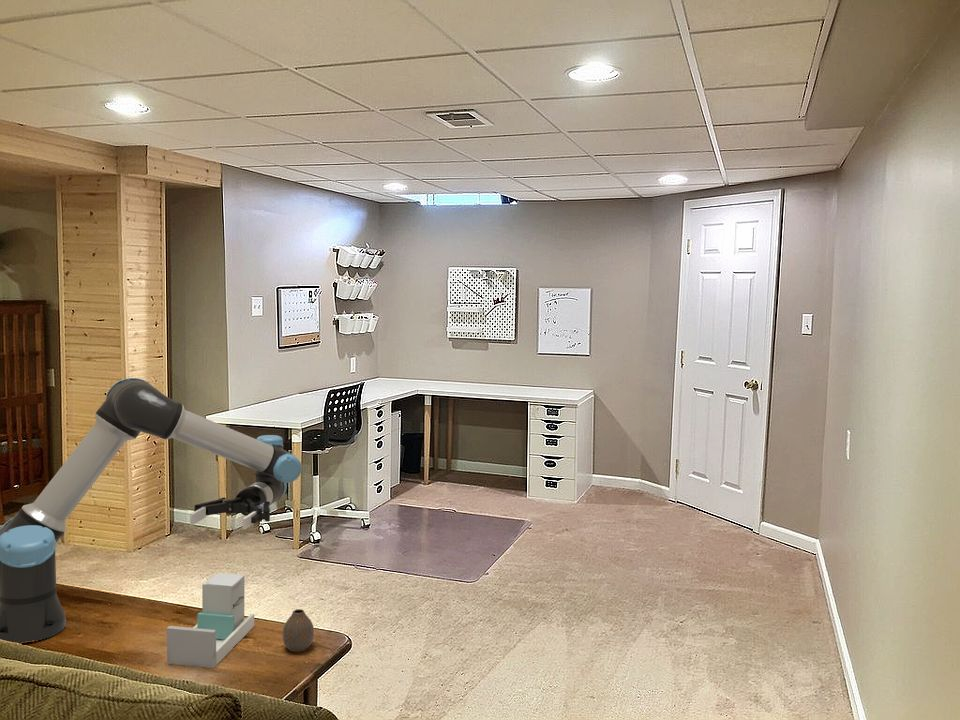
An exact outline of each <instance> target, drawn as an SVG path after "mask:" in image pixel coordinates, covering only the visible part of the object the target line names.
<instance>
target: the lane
mask: <svg viewBox="0 0 960 720" xmlns="http://www.w3.org/2000/svg"><path fill="white" fill-rule="evenodd" d="M254 627H255V614H254V613H249V615H248V616H247V617H244V621H243V622H242V623H241V624H240V625H239V626H238V627H237V628H236V629H235V630H234V631H233V632H232V633H231V634H230V635H229V636H228V637H227V638H226V639H225V640H224V639H216V630H211V629H199V628H198V624H197V623H196V624H195V625H194V626H193V627H186V626H176V625H169V626H167V628H166V663H167V665H177V666H187V667H188V666H189V667H195V668H196V667H197V668H198V667H199V668H209V669H215V668H216V666H217V665H218V664H219V663H220V662H221V661H222V660H224V658H225V657H226V656H227V655H228V654H229V653H230V652H231V651H232V650H233V649H234V648H235V647H236V646H237V645H238V644H239V643H240V641H242V639H243V638H245V636H246V635H247V634H248V633H249V632H250V631H251V630H252V629H253V628H254ZM236 644H237V645H236ZM235 645H236V646H235ZM234 646H235V647H234ZM233 647H234V648H233Z"/></svg>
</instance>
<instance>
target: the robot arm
mask: <svg viewBox="0 0 960 720" xmlns="http://www.w3.org/2000/svg"><path fill="white" fill-rule="evenodd" d="M105 397H106V398H105V400H104V401H103V403H102V404H101V405H100V407H98V409H97V411H96V412H95V413H94V416H95V423H94V424H93V425H92V427H91V428H90V429H89V431H88V432H87V433H86V435H85V436H84V438H83V439H82V440H81V441H80V443H78V445H77V447H76V448H75V449H74V450H73V452H71V454H70V455H69V456H68V458H67V459H66V460H65V462H64V463H63V464H62V465H61V466H60V468H59V469H58V471H57V472H56V474H55V475H54V476H53V477H52V478H51V480H50V481H49V482H48V483H47V484H46V486H45V487H44V488H43V490H42V491H41V492H40V494H39V495H38V496H37V498H36V499H35V501H33V502H32V503H28V504H24V505H23V506H22V507H21V508H20V509H19V510H18V511H17V513H16V514H15V515H14V516H13V517H11V518H10V519H9V520H7V521H6V522H5V523H4V524H3V525H1V527H0V639H3V640H7V641H13V642H18V643H22V642H25V641H32V640H35V641H36V640H41V641H43V640H42V639H44V640H46V639H45V638H47V639H49V637H50V638H52V637H54V636H56V635H58V634H59V633H61V632H62V631H63V630H64V629H65V628H66V625H67V623H66V613H65V610H64V609H63V606H62V604H61V602H60V599H59V597H58V595H57V571H56V570H57V569H56V567H57V566H56V563H57V562H56V548H57V543H58V542H59V540H60V539H61V538H62V536H63V535H64V534H65V532H66V530H67V526H66V520H67V519H68V518H69V516H70V515H71V514H72V513H73V511H74V510H75V509H76V507H77V506H78V504H80V502H81V501H82V500H83V498H84V497H85V495H86V494H87V493H88V491H90V489H91V488H92V486H93V485H94V484H95V482H96V481H97V480H98V478H99V477H100V476H101V475H102V473H103V472H104V470H106V469H107V467H108V465H109V464H110V463H111V462H112V460H113V459H114V458H115V457H116V455H117V453H118V452H119V451H120V450H121V449H122V447H123V446H124V444H125V443H126V442H128V441H134V440H136V439H137V438H138V436H139V435H140V433H144V434H147V435H152V436H155V437H157V438H159V439H163V440H165V441H167V440H170V439H173V440H174V439H175V440H177V441H179V442H182V443H185V444H187V445H190V446H192V447H195V448H197V449H199V450H203V451H206V452H208V453H211V454H213V455H215V456H218V457H221V458H223V459H226V460H229V461H232V462H233V463H236V464H239V465H242V466H245V467H247V468H250V469H252V470H254V483H252V484H251V485H248V486H247V487H246V488H244V489H242V490H241V491H239V492H238V493H237V495H236V496H235V498H233V499H226V497H221V498H218V499H216V500H215V499H214V500H209V501H206V502H203V503H198V504H197V503H196V504H194V506H193V507H194V511H192V512H191V513H190V516H189V517H190V518H189V525H190V526H194V525H196V524H198V523H199V522H200V521H202V520H204V519H206V517H207V516H213V515H218V514H227V515H230V514H231V515H232V514H240V515H241V514H242V515H243V516H245V517H242V525H241V526H242V530H247V529H248V528H249V527H251V526H253V525H254V524H256V523H258V522H260V523H261V522H262V521H264V522H265V523H266V522H270V520H271V505H273V504H274V503H277V502H278V501H280V499H281V498H282V497H283V496H284V495H286V492H287V489H288V488H287V487H288V484H289V483H293V482H294V481H297V479H298V478H299V477H300V476H301V473H302V469H303V468H302V463H301V461H300V459H299V458H298V457H297V456H296V455H295V454H292V453H290V452H288V451H287V450H286V449H284V446H285V445H284V440H283V437H282V436H280V435H276V434H265V435H264V434H263V435H260V436H258V437H257V438H255V437H252V436H249V435H246V434H245V433H243V432H239V431H237V430H235V429H233V428H229V427H227V426H225V425H223V424H220V423H218V422H215V421H214V420H211V419H208V418H205V417H204V416H201V415H199V414H197V413H193V412H191V411H189V410H186V409H185V408H186V407H185V406H184V404H182V403H180V402H178V401H175V400H174V399H172V398H170V397H168V396H166V395H165V394H164V393H162V392H161V391H159V389H157V388H156V387H154V386H153V385H152V384H150V382H148V381H147V380H144V379H142V378H138V377H128V378H127V377H126V378H123V379H120V380H118V381H116V382H115V383H113V385H112V386H111V387H110V388H109V390H108V392H107V393H106V396H105ZM64 627H65V628H64Z"/></svg>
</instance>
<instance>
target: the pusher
mask: <svg viewBox="0 0 960 720" xmlns="http://www.w3.org/2000/svg"><path fill="white" fill-rule="evenodd" d="M196 622H197V623H196V624H198V628H199V629H211V630H216V639H224V640H225V639H226V638H227V637H228V636H229V635H230V634H231V633H232V632H233V631H234V615H225V614H214V613H202V612H201V611H200V612H198V613H197V620H196Z"/></svg>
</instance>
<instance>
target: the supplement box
mask: <svg viewBox="0 0 960 720" xmlns="http://www.w3.org/2000/svg"><path fill="white" fill-rule="evenodd" d="M201 589H202V591H201V592H202V594H201V595H202V596H201V597H202V599H201V601H202V603H201V607H202V610H201V611H202V613H214V614H225V615H234V630H235V629H236V628H237V627H238V626H239V625H240V624H241V623H242V622H243V621H244V618H245V575H244V574H237V573H236V574H235V573H219V572H217V573H215V574H214V575H212V576H211V577H210V578H208V579H207V580H206V581H205V582H203V584H202V588H201Z"/></svg>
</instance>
